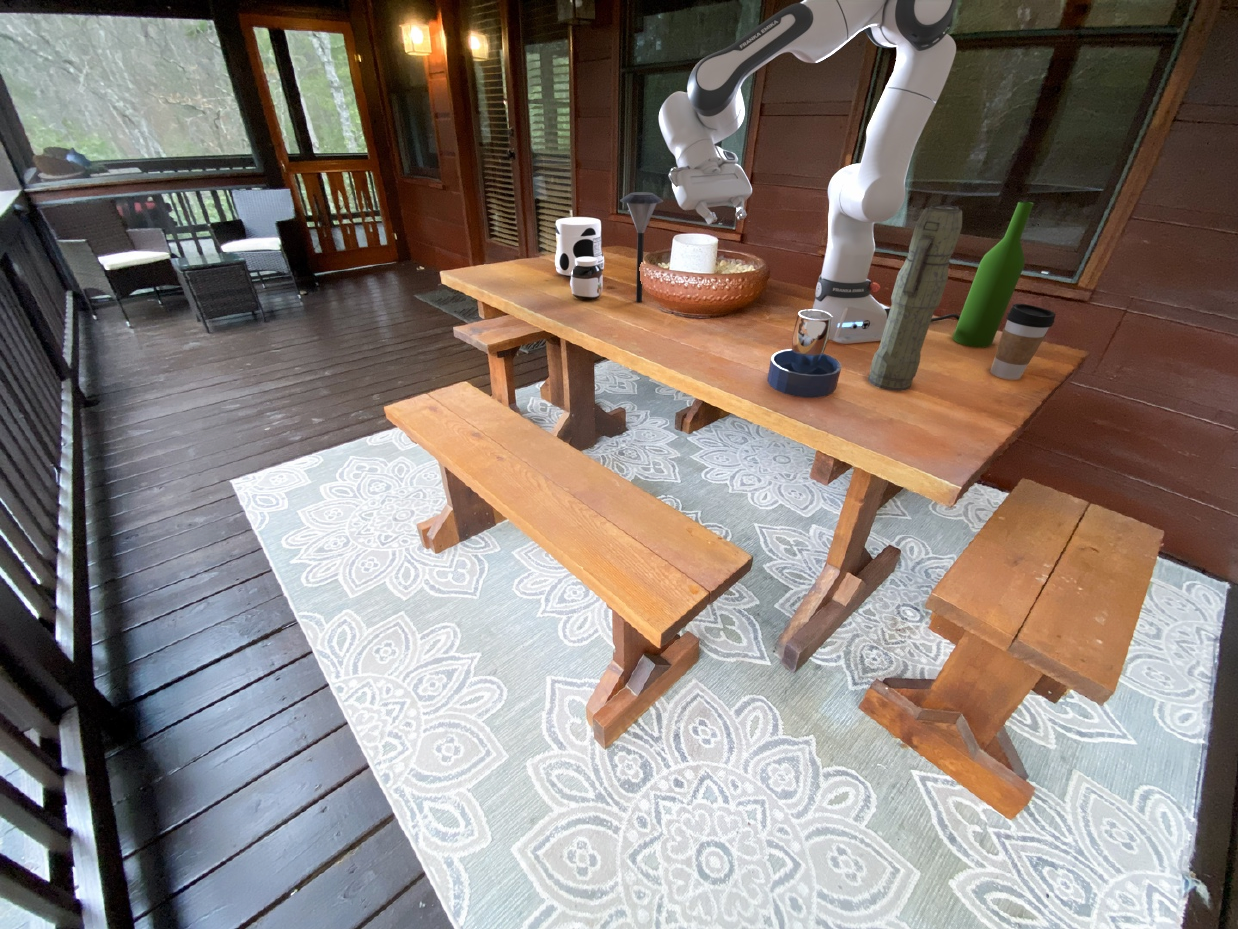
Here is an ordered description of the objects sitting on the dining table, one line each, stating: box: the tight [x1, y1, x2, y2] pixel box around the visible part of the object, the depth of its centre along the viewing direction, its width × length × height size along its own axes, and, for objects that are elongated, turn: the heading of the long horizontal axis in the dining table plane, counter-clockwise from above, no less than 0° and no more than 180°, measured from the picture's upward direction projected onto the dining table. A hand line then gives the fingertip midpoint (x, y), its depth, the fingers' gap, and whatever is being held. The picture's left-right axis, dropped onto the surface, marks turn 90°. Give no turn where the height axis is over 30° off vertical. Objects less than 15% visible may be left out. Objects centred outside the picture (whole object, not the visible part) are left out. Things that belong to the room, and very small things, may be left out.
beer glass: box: [790, 309, 832, 375], centre depth 110 cm, size 7×7×15 cm
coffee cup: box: [989, 303, 1056, 381], centre depth 116 cm, size 8×8×15 cm
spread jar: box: [569, 257, 604, 302], centre depth 166 cm, size 12×11×12 cm
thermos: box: [867, 204, 963, 392], centre depth 107 cm, size 9×12×35 cm
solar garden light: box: [619, 191, 664, 303], centre depth 156 cm, size 12×12×30 cm
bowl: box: [766, 348, 842, 399], centre depth 113 cm, size 14×14×6 cm
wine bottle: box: [952, 201, 1035, 348], centre depth 128 cm, size 9×9×32 cm
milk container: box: [554, 216, 605, 279], centre depth 184 cm, size 17×17×18 cm
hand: (728, 220), depth 117 cm, fingers open, 8 cm apart
